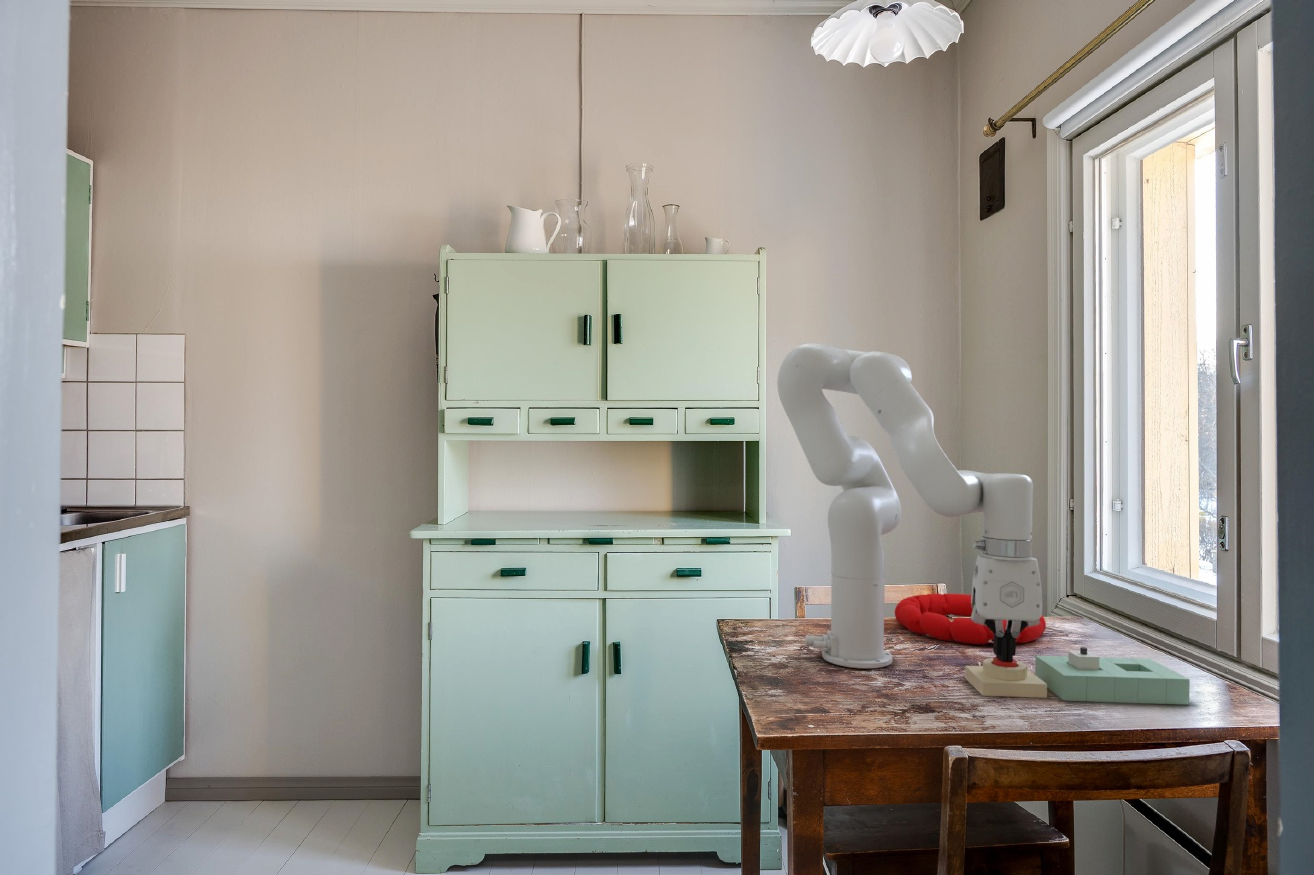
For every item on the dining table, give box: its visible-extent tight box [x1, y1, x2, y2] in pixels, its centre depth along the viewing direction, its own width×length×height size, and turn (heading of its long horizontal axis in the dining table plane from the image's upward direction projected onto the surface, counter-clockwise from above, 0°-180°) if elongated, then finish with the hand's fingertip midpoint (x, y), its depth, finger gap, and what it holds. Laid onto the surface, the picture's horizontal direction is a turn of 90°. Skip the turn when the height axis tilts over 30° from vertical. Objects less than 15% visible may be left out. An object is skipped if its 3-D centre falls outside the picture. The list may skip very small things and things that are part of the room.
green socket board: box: [1034, 655, 1191, 706], centre depth 129 cm, size 19×11×4 cm, turn 86°
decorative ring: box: [894, 593, 1047, 646], centre depth 170 cm, size 7×30×30 cm
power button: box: [992, 656, 1018, 667], centre depth 130 cm, size 4×4×2 cm
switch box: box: [964, 657, 1048, 699], centre depth 130 cm, size 10×9×4 cm
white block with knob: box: [1067, 646, 1100, 670], centre depth 129 cm, size 3×3×7 cm
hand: (1004, 659), depth 130 cm, fingers closed
